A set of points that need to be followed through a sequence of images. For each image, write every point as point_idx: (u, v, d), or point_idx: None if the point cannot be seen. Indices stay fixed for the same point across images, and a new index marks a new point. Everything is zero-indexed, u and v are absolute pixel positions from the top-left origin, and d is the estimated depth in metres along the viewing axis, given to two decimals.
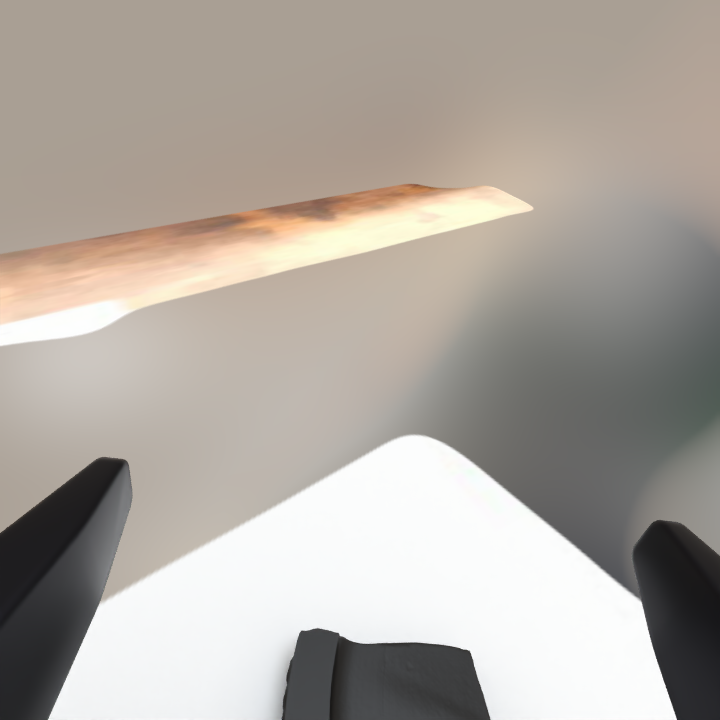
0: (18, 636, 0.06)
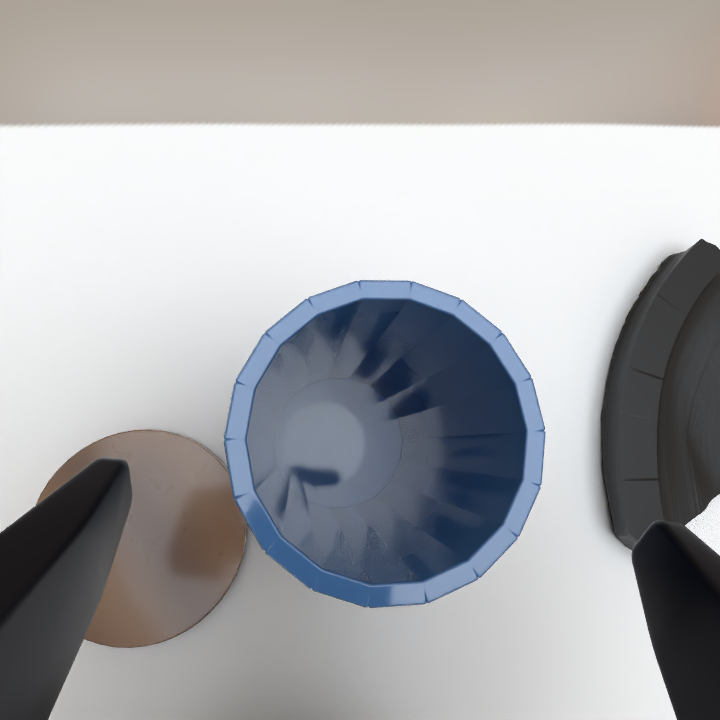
0: (18, 636, 0.06)
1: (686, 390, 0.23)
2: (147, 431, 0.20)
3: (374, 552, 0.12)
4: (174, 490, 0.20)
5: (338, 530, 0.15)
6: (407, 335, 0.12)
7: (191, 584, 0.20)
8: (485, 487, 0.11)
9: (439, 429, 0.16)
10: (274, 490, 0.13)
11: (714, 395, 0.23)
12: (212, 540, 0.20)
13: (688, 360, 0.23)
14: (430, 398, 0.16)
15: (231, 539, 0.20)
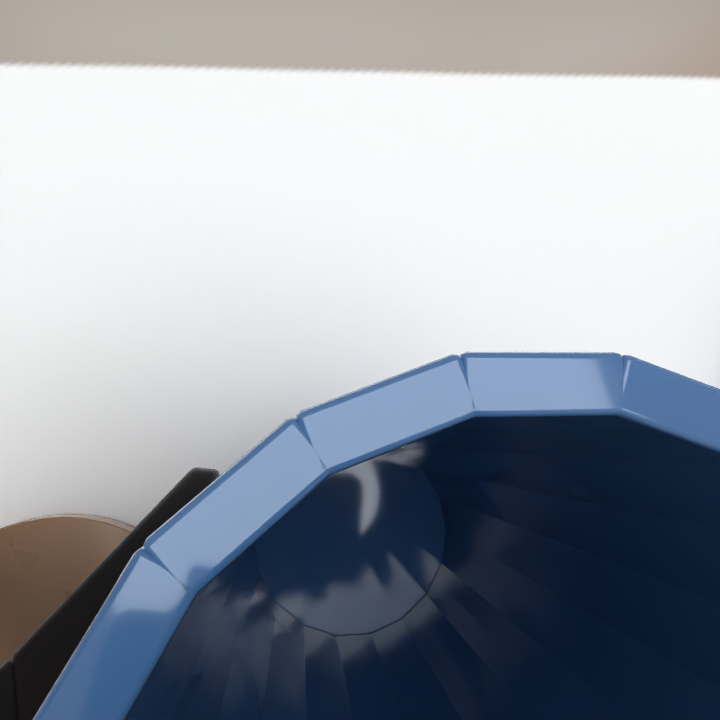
0: None
1: None
2: (64, 519, 0.13)
3: None
4: None
5: None
6: (525, 443, 0.06)
7: None
8: None
9: (538, 570, 0.09)
10: None
11: None
12: None
13: None
14: (523, 515, 0.09)
15: None
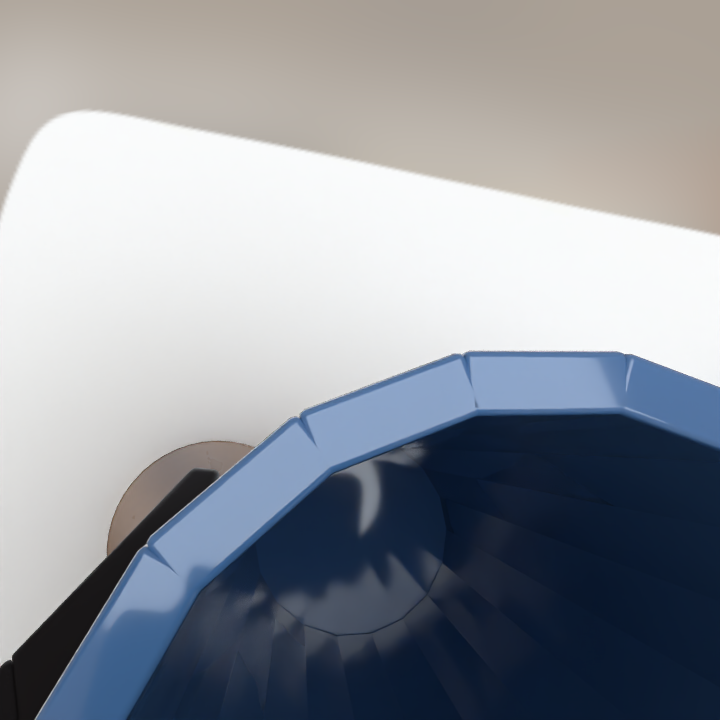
0: None
1: None
2: (241, 445, 0.21)
3: None
4: None
5: None
6: (526, 442, 0.06)
7: None
8: None
9: (539, 570, 0.09)
10: None
11: None
12: None
13: None
14: (524, 515, 0.09)
15: None
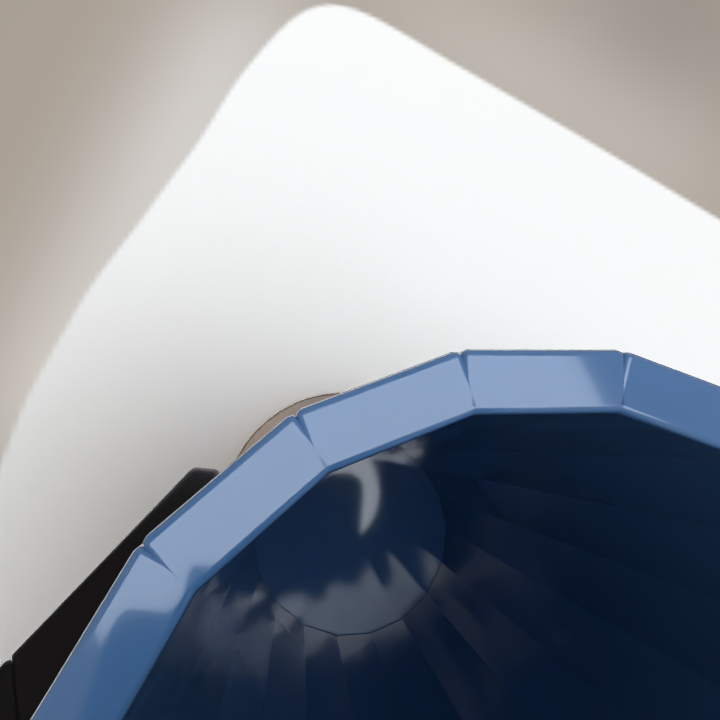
0: None
1: None
2: None
3: None
4: None
5: None
6: (525, 442, 0.06)
7: None
8: None
9: (538, 570, 0.09)
10: None
11: None
12: None
13: None
14: (523, 515, 0.09)
15: None
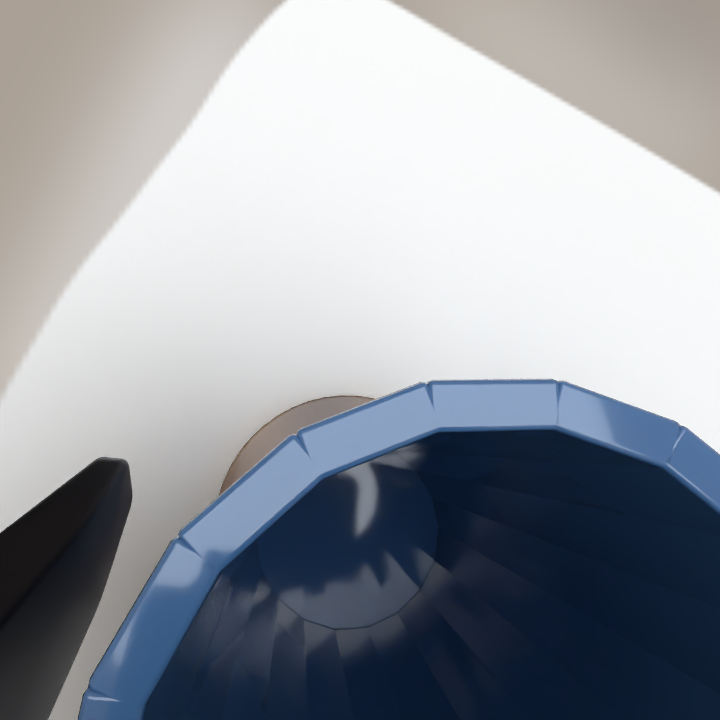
0: (18, 636, 0.06)
1: None
2: None
3: None
4: None
5: None
6: (496, 449, 0.06)
7: None
8: None
9: (519, 564, 0.10)
10: None
11: None
12: None
13: None
14: (504, 514, 0.10)
15: None
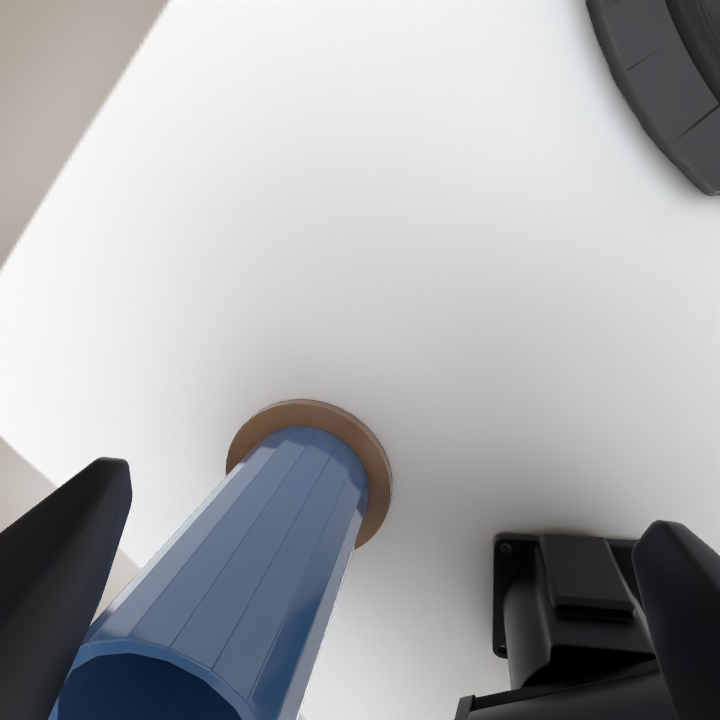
0: (18, 636, 0.06)
1: None
2: (250, 421, 0.24)
3: None
4: None
5: None
6: None
7: None
8: None
9: None
10: None
11: None
12: None
13: None
14: None
15: (363, 447, 0.23)
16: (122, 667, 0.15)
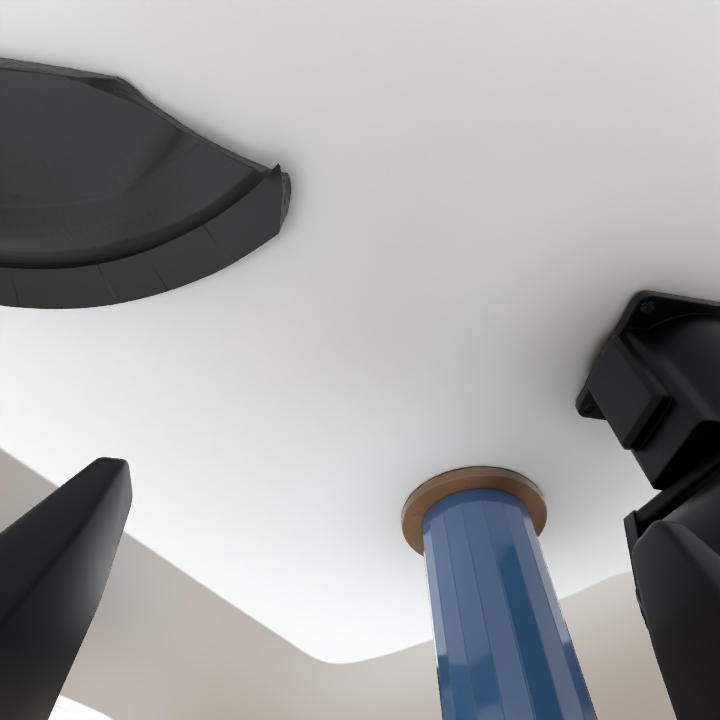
0: (18, 636, 0.06)
1: (79, 215, 0.18)
2: (409, 544, 0.30)
3: None
4: None
5: None
6: None
7: None
8: None
9: None
10: None
11: (54, 179, 0.17)
12: None
13: (46, 227, 0.18)
14: None
15: (453, 486, 0.27)
16: None
